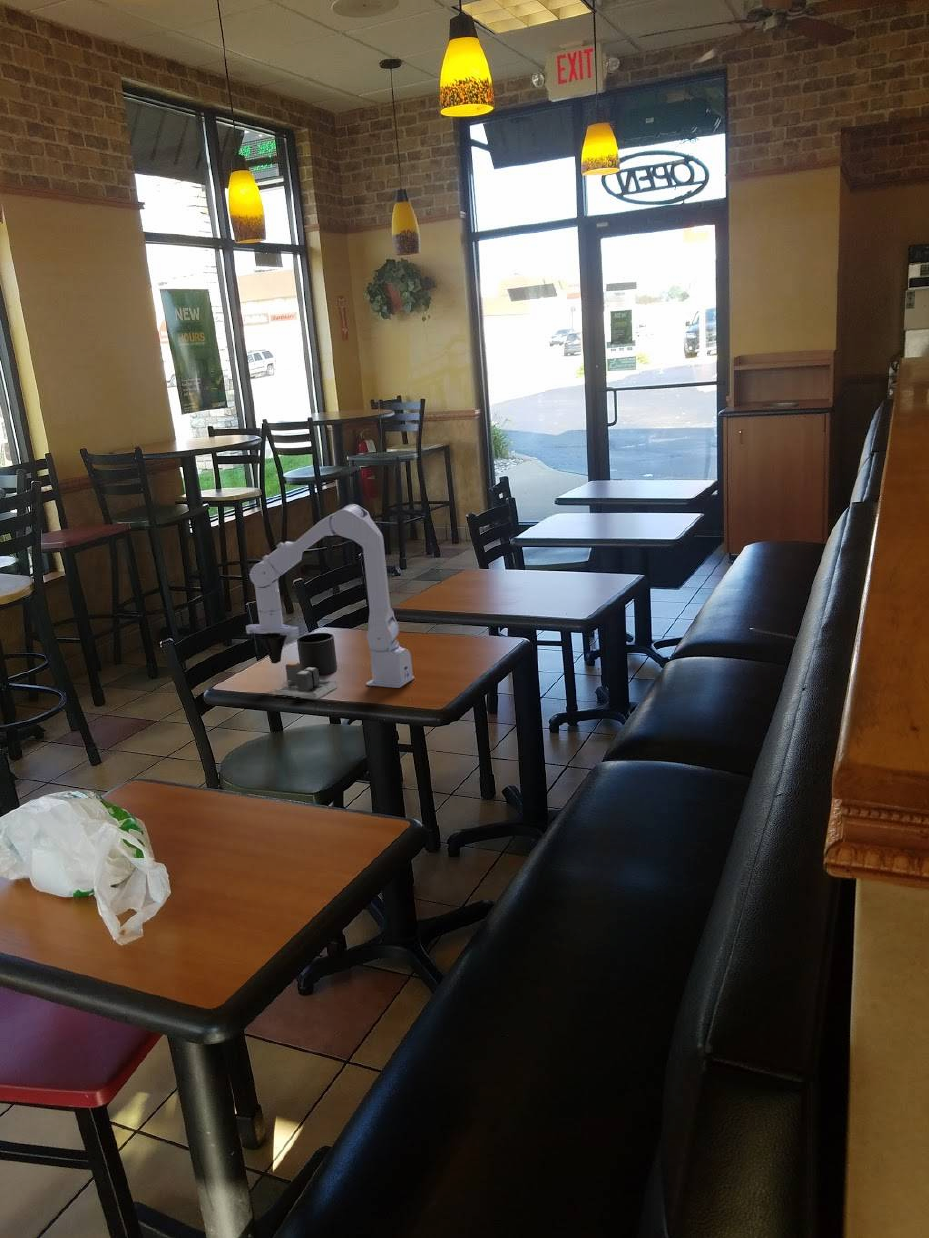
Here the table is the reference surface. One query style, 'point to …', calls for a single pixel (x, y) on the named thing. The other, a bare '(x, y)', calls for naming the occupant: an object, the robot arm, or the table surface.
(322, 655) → the mug
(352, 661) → the table surface
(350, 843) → the table surface
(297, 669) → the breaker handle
